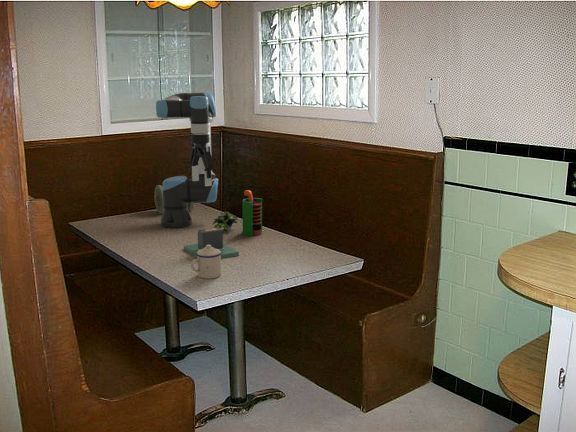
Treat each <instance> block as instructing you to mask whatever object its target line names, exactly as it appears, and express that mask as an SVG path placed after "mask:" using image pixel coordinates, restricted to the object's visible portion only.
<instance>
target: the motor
mask: <svg viewBox="0 0 576 432" xmlns="http://www.w3.org/2000/svg"><path fill="white" fill-rule="evenodd" d="M243 193H244V194H243V195H244V196H247V197H248V198H243V199H242V235H244V236H246V237H253V236H260V235H262V234H263V198H259V197H254V196H253V192H252V191H251V190H249V189H247V190H244V192H243Z"/></svg>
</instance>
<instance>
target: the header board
mask: <svg viewBox="0 0 576 432" xmlns="http://www.w3.org/2000/svg"><path fill="white" fill-rule="evenodd" d="M183 250H184V251H186V252H187V253H189V254H190V255H192V256H193V257H195V258H197V251H199V250H200V249H198V243H195V244H188V245H187V244H186V245H183ZM219 250H220V251H221V259H225V258H230V257H231V258H232V257H237V256H240V254H239V252H240V251H238V250H236V249H235V248H232V247H231V246H229V245H227V244H225V243H224V242H223V249H219Z"/></svg>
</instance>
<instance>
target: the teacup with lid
mask: <svg viewBox="0 0 576 432" xmlns="http://www.w3.org/2000/svg"><path fill="white" fill-rule="evenodd" d="M196 262H197V269H196V268H195V267H194V264H195V263H196ZM190 268H191V270H192V271H193V272H195V273H197V276H198V277H199V278H200V279H207V280H208V279H209V280H210V279H216V278H219V277H221V276H222V258H221V251H220V250H219V249H215V248H213V247H211V245H206V247H205V248H203V249H201V250H199V251H197V257H196V258H194V259H193V260H191V263H190Z"/></svg>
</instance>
